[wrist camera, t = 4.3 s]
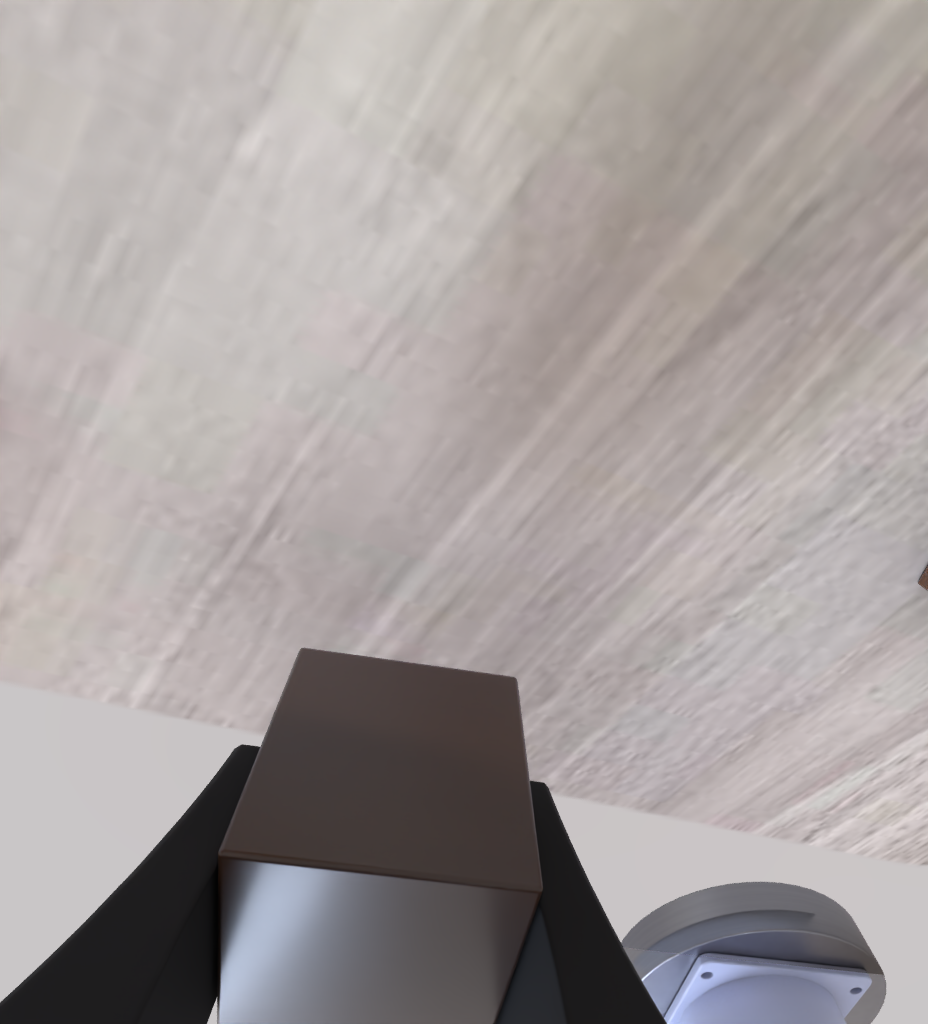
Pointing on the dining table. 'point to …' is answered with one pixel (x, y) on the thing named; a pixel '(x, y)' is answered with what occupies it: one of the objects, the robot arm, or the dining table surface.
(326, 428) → the dining table surface
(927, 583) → the carton
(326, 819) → the block
